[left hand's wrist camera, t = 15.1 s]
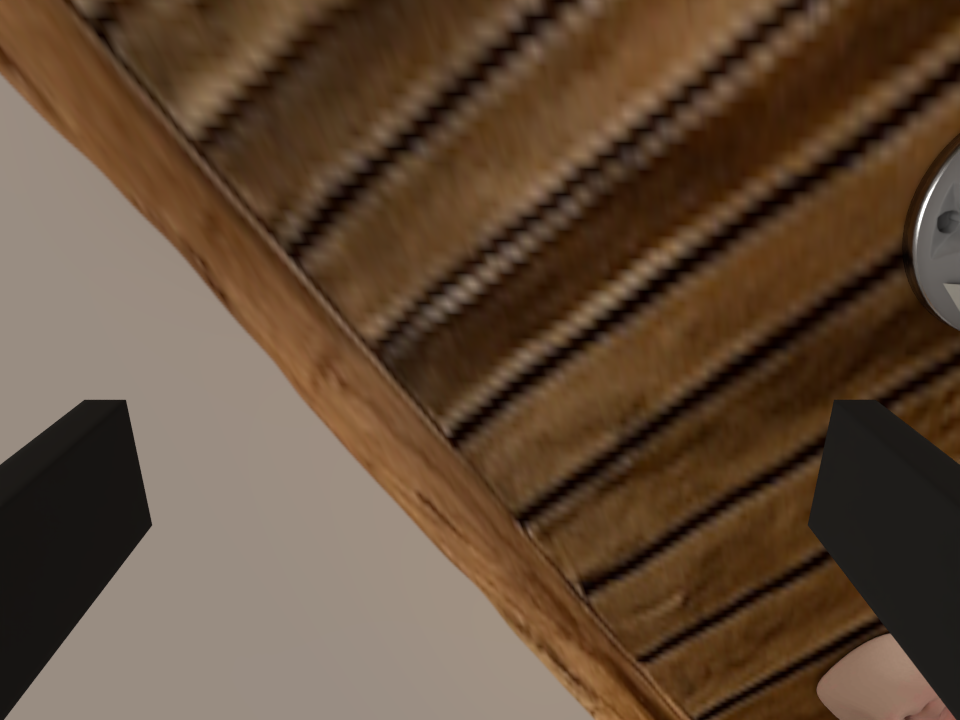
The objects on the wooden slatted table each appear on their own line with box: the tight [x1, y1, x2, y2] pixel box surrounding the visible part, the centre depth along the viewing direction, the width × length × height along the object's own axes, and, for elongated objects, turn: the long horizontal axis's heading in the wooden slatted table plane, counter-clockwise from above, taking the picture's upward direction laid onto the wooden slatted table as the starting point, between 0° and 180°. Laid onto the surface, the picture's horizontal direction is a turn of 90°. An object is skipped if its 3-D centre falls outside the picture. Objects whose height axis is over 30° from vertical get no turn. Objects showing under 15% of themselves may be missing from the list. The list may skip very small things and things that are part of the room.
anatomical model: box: [817, 633, 956, 720], centre depth 55 cm, size 13×4×12 cm
